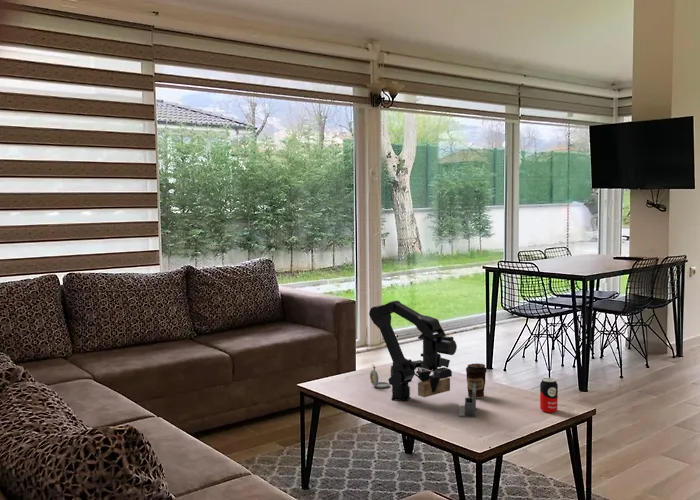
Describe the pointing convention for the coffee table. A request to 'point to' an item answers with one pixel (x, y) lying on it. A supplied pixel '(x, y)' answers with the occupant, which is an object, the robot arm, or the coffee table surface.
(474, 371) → the coffee cup
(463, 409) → the bracket
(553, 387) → the beverage can
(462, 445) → the coffee table surface
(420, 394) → the rail
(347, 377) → the coffee table surface
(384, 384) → the pocket watch
